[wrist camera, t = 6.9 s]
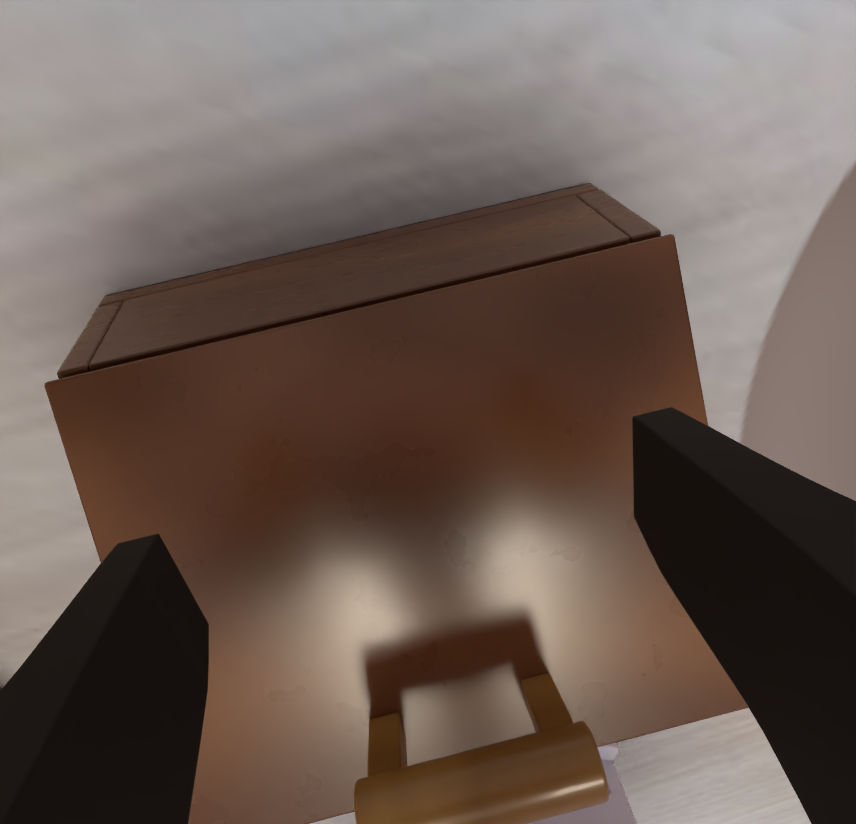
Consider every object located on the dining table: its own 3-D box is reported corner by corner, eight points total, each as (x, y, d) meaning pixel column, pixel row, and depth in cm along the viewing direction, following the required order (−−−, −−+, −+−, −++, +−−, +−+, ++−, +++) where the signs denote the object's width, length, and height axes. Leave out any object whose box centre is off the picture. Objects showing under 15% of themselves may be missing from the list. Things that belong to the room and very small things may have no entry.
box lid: (746, 692, 16) (861, 809, 12) (199, 835, 16) (139, 1005, 12) (663, 236, 15) (766, 204, 11) (55, 380, 14) (-68, 402, 10)
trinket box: (604, 475, 24) (658, 561, 21) (235, 567, 24) (223, 672, 20) (591, 181, 18) (661, 229, 15) (103, 295, 18) (54, 373, 14)
